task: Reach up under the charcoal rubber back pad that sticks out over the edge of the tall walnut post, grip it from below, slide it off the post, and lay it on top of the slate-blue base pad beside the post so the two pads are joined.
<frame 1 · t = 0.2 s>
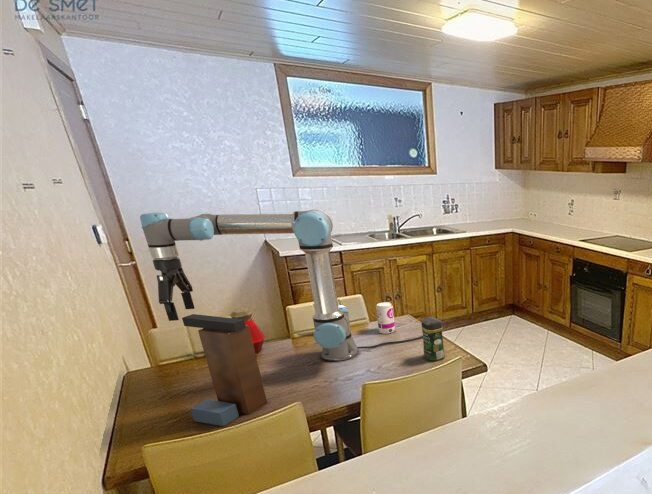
hand: (182, 314, 159), 28 cm above the table, tool pointing down, fingers open, 13 cm apart
bottle: (251, 351, 198), on the table
base pad: (217, 418, 145), on the table
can: (326, 333, 219), on the table
supplement can: (387, 331, 223), on the table
back pad: (215, 326, 143), point 30 cm above the table, touching walnut post
walnut post: (230, 404, 154), on the table
coffee jar: (434, 357, 194), on the table
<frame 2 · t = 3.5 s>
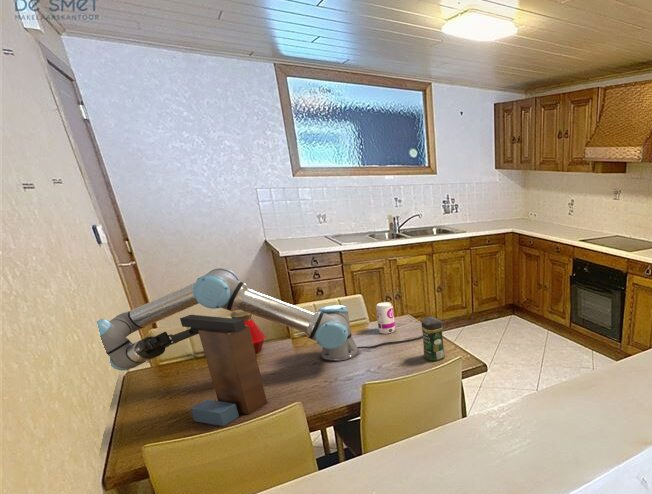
hand: (186, 330, 148), 27 cm above the table, tool pointing upward, fingers open, 13 cm apart
nothing on the table moved.
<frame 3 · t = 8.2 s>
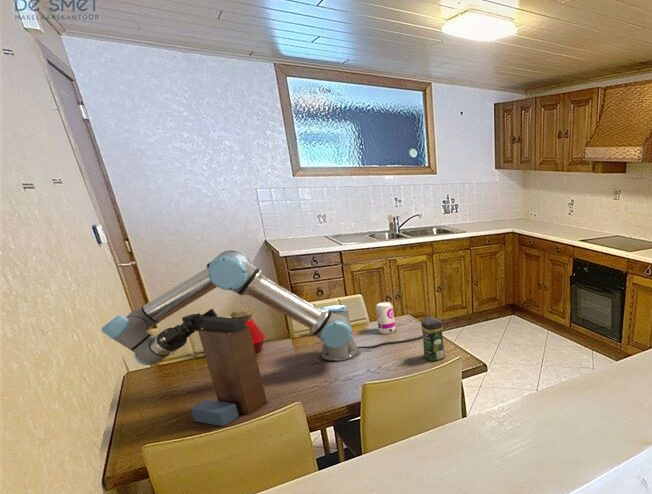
hand: (207, 314, 142), 34 cm above the table, tool pointing upward, fingers closed on back pad, 4 cm apart
back pad: (215, 326, 143), point 30 cm above the table, touching gripper, walnut post
everything else where it was.
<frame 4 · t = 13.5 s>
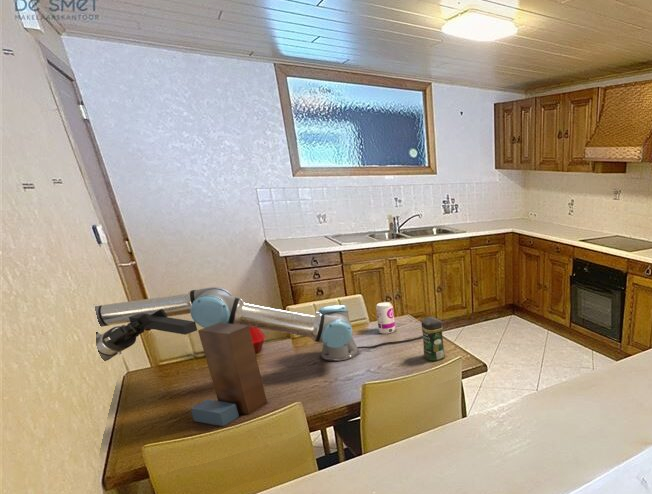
hand: (156, 315, 135), 36 cm above the table, tool pointing upward, fingers closed on back pad, 4 cm apart
back pad: (164, 328, 136), point 32 cm above the table, touching gripper
everything else where it was.
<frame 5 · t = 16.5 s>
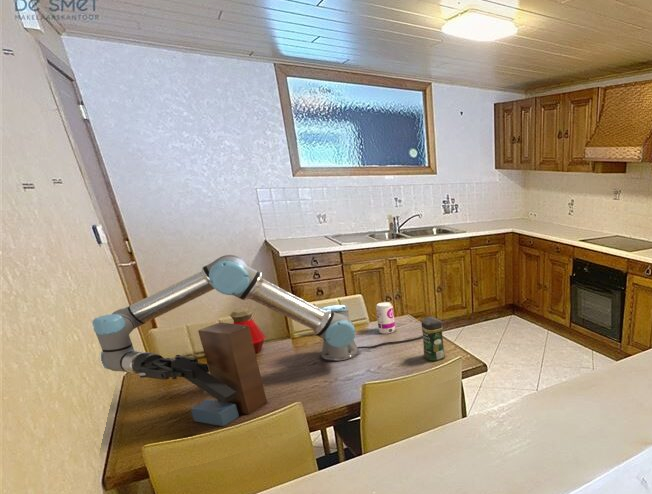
hand: (200, 371, 139), 18 cm above the table, tool horizontal, fingers closed on back pad, 4 cm apart
back pad: (202, 383, 140), point 13 cm above the table, tilted 30°, touching gripper
everything else where it was.
when the fingers open (10 cm above the table, at t = 18.8 s): back pad drops 2 cm, resting on base pad.
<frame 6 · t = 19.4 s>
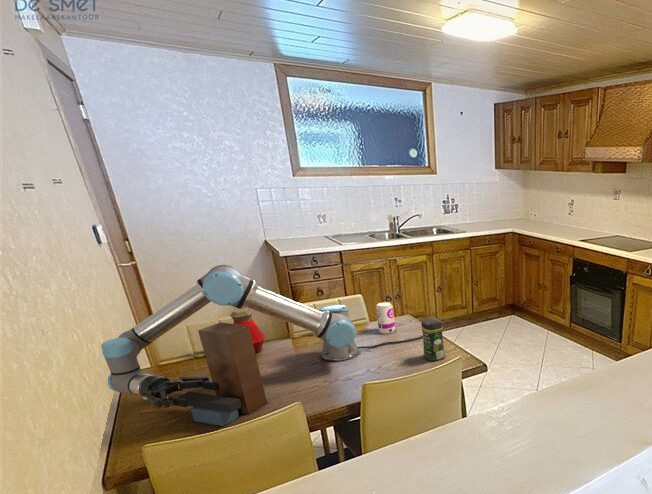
hand: (202, 394, 141), 10 cm above the table, tool horizontal, fingers open, 10 cm apart
back pad: (210, 405, 143), point 5 cm above the table, touching base pad
everything else where it was.
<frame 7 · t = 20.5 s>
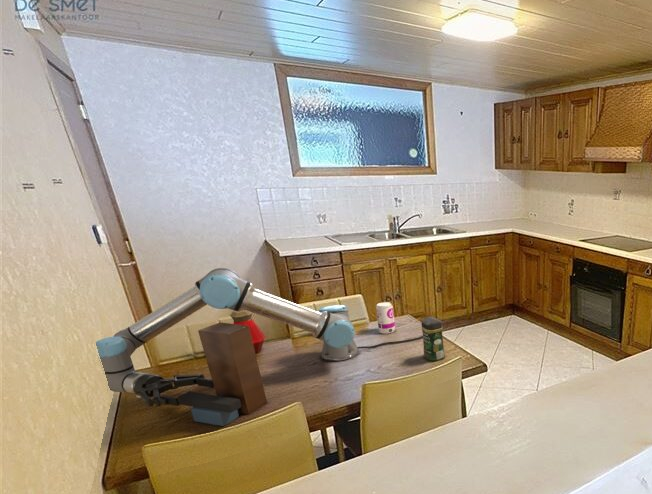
hand: (196, 392, 142), 10 cm above the table, tool horizontal, fingers open, 12 cm apart
nothing on the table moved.
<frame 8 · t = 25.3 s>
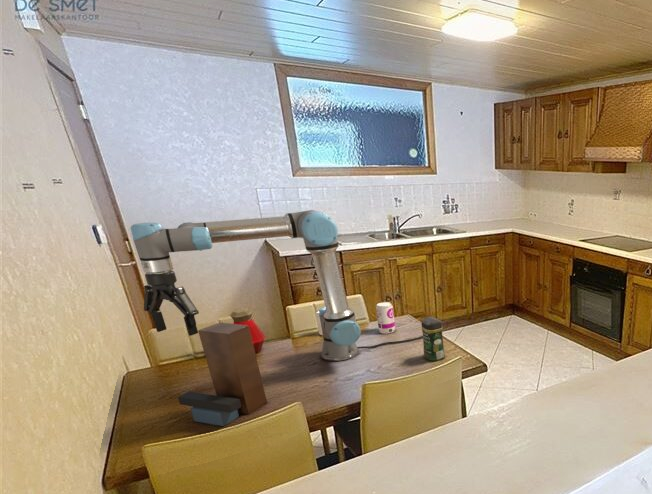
hand: (177, 332, 147), 27 cm above the table, tool pointing down, fingers open, 13 cm apart
nothing on the table moved.
at the end: back pad inside the target area on the base pad (1.0 cm from its centre), point 5.0 cm above the base pad's base; back pad touching base pad; the gripper is holding nothing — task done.
